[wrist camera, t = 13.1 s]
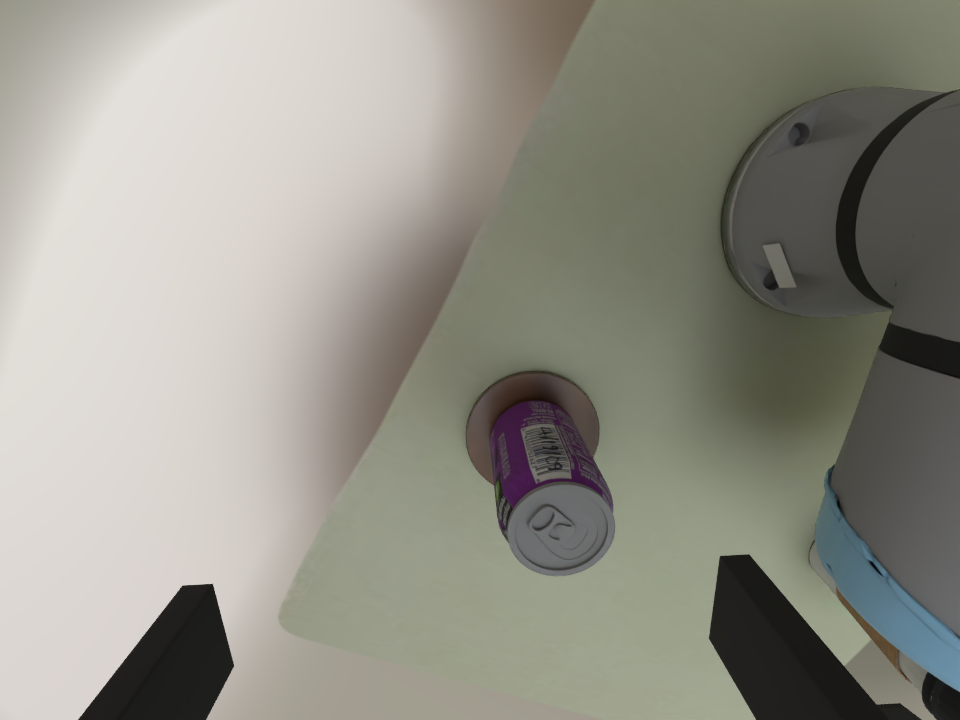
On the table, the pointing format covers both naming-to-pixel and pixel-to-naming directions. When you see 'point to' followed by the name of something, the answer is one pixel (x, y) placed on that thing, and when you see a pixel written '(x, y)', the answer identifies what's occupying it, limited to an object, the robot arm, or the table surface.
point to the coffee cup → (901, 658)
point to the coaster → (520, 391)
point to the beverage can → (549, 491)
